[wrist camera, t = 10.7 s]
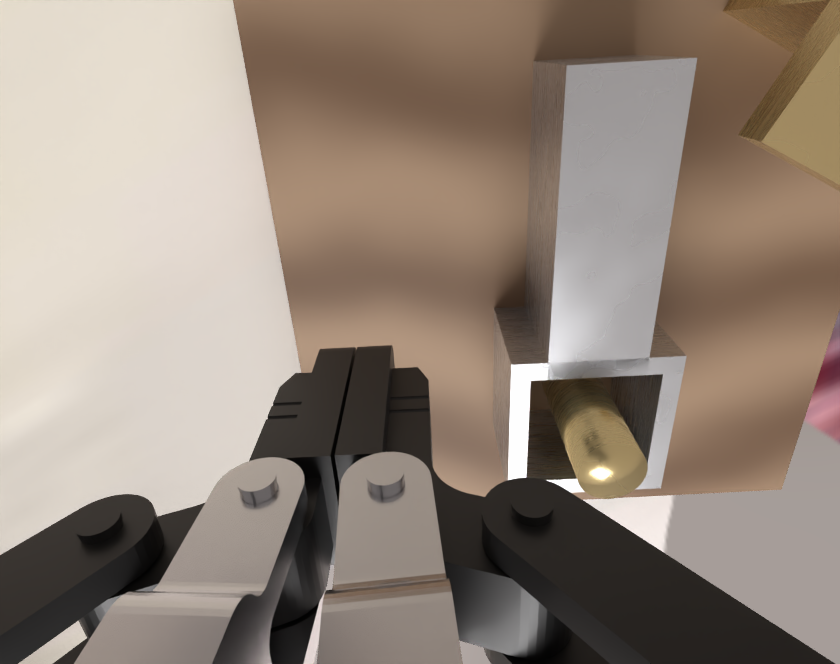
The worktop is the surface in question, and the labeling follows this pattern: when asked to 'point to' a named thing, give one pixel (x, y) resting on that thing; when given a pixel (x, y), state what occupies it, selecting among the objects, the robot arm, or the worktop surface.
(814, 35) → the block
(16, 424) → the worktop surface
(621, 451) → the cylinder
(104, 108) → the worktop surface
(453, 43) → the board
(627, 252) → the link
